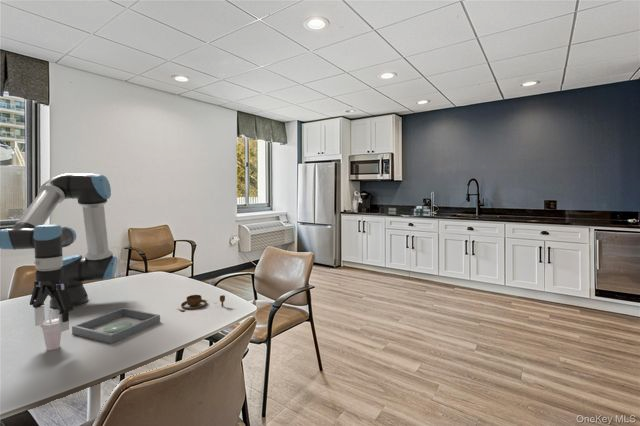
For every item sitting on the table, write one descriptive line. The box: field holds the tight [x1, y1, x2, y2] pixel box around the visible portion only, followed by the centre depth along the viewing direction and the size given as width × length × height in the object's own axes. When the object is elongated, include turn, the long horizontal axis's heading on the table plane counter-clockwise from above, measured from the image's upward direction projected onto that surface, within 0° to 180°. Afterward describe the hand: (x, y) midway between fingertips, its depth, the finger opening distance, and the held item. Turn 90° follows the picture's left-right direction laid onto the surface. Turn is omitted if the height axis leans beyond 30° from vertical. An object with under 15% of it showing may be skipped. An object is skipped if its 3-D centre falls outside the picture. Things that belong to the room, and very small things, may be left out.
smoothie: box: [40, 309, 62, 351], centre depth 117 cm, size 6×6×14 cm
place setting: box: [177, 294, 226, 313], centre depth 159 cm, size 18×20×6 cm
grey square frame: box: [71, 307, 161, 345], centre depth 135 cm, size 22×22×3 cm
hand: (51, 327), depth 117 cm, fingers open, 13 cm apart
